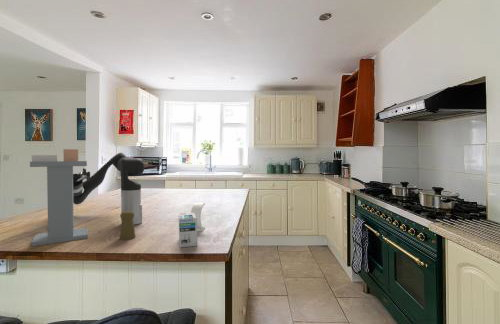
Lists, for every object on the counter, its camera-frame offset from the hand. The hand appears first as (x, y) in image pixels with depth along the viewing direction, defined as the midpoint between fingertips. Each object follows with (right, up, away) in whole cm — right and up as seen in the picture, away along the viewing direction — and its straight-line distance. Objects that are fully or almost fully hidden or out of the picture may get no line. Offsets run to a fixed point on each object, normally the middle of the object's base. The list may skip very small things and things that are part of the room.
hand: (73, 170), depth 128 cm
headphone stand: (+64, -28, -10) cm, 71 cm away
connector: (+9, +4, -14) cm, 18 cm away
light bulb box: (+64, -28, -28) cm, 75 cm away
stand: (+10, -28, -21) cm, 36 cm away
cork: (+37, -28, -21) cm, 51 cm away
